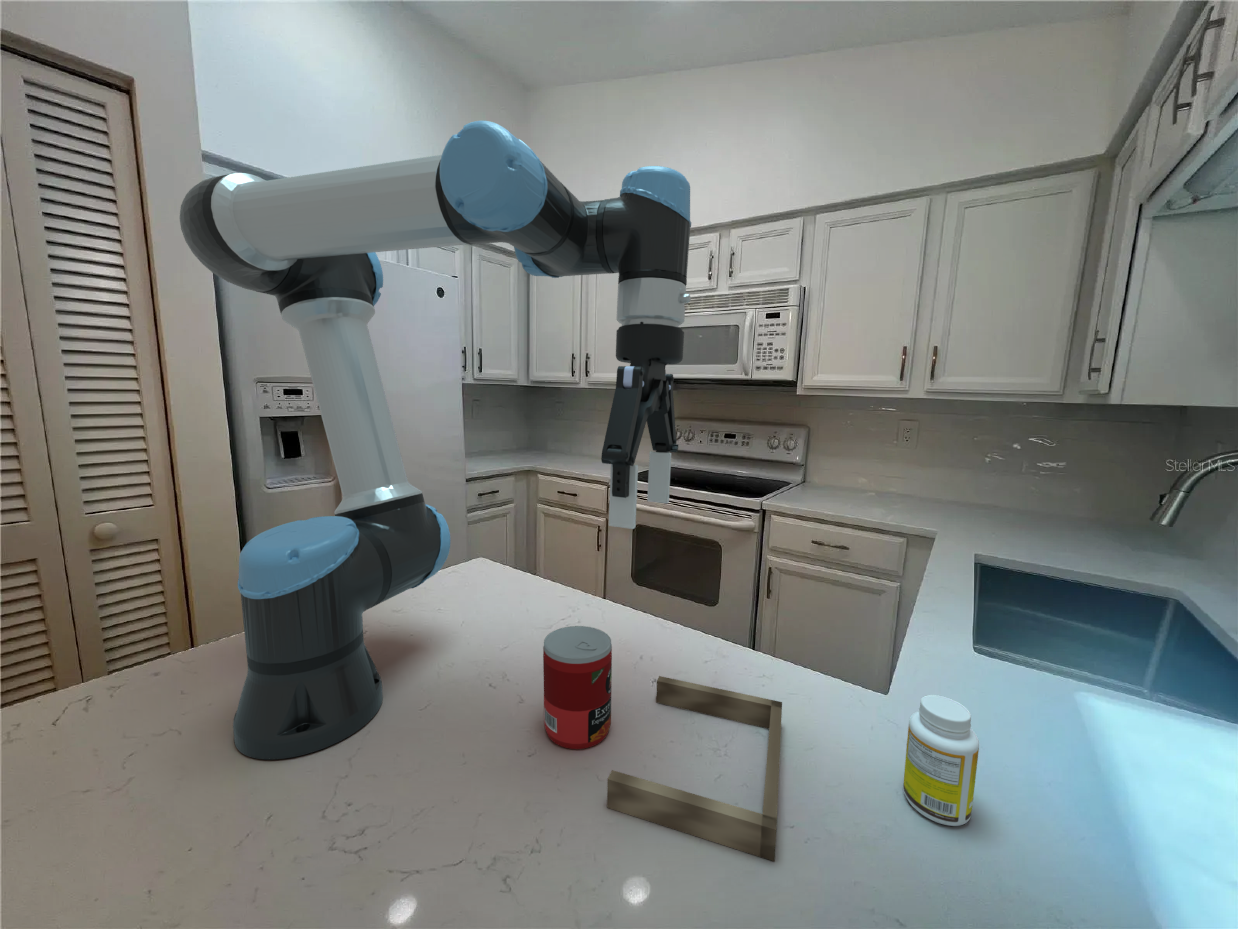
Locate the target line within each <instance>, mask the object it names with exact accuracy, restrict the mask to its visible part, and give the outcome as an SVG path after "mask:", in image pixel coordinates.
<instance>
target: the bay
mask: <svg viewBox="0 0 1238 929" xmlns="http://www.w3.org/2000/svg"><path fill="white" fill-rule="evenodd" d="M655 694H656V697H655V703H657V704H659V705H660V704H662V705H665V706H670V707H674V708H677V709H682V710H687V711H691V712H695V713H699V714H705V715H707V716H708V715H709V716H712V717H716V718H720V719H725V720H729V721H734V722H738V723H742V724H747V725H751V726H756V727H760V728H763V729H768V738H767V739H768V742H767V754H766V755H767V756H766V765H765V780H764V790H763V791H764V792H763V804H762V813H760V812H757V811H754V810H750V809H747V808H743V807H739V806H736V805H733V804H729V803H726V802H724V801H719V800H716V799H713V798H709V797H706V796H702V795H699V794H697V793H691V792H689V791H685V790H682V789H677V788H674V787H671V786H667V785H664V784H661V783H659V782H655V781H651V780H648V779H646V778H645V779H644V778H641V777H637V776H635V775H630V774H628V773H624V772H620V771H616V770H615V769H614V770H613V769H611V771H610V773H609V775H608V777H607V779H606V781H607V783H606V786H607V787H606V789H607V790H606V791H607V793H606V795H607V796H606V799H607V800H606V803H607V804H606V808H608V809H610V810H613V811H617V812H619V813H623V814H625V815H629V816H632V817H635V818H638V819H641V820H645V821H647V822H650V823H654V824H657V825H660V826H663V827H667V828H670V829H672V830H676V831H679V832H682V833H684V834H687V835H691V836H695V837H696V838H699V839H700V838H701V839H703V840H706V841H708V842H713V843H716V844H718V845H722V846H724V847H725V846H726V847H728V848H731V849H735V850H738V851H740V852H743V853H747V854H749V855H752V856H756V857H760V858H762V859H765V860H768V861H771V862H774V863H775V859H776V846H777V845H776V843H777V825H778V824H777V823H778V806H779V805H778V803H779V781H780V759H781V758H780V757H781V738H782V736H781V735H782V718H783V717H782V716H783V714H782V713H783V711H782V710H783V701H780V700H779V701H778V700H775V699H771V698H770V699H769V698H765V697H760V696H756V695H750V694H745V693H741V692H736V691H732V690H728V689H723V688H718V687H712V686H709V685H703V684H699V683H694V682H690V681H685V680H680V679H675V678H672V677H667V676H663V675H659V676H658V678H657V679H656V693H655Z"/></svg>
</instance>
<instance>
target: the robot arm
mask: <svg viewBox="0 0 1238 929" xmlns="http://www.w3.org/2000/svg"><path fill="white" fill-rule="evenodd" d="M687 179H688V178H686V176H684V174H683V173H681V172H680V171H678V170H676V169H673V168H671V167H666V166H662V165H661V166H660V165H659V166H658V165H648V166H642V167H639V168H637V170H631V171H630V172H628V173H627V174H626V175H625V176H624V178H623V179H622V181H621V189H620V190H619V197H612V198H607V199H601V200H588V201H587V200H586V201H581V200H579V199H578V197H576V196H575V195H574V194H573V193H572V192H571V191H570V190H569V189H568V188H567V187H566V186H565V185H564V184H563V183H562V182H561V181H560V180H559V179H558V178H557V177H556V175H555V174H554V173H553V172H551V170H550V169H549V168H548V167H547V166H546V165H545V164H544V163H543V162H542V160H541V159H540V158H539V157H538V156H537V155H536V153H535V152H534V151H533V149H532V148H530V146H529V145H528V144H526V143H525V142H524V141H523V140H521V139H520V138H517V137H516V136H515V135H514V134H513V133H511V132H510V131H509V130H508V129H507V128H505V127H504V126H502V125H500V124H499V123H496V122H494V121H489V120H475V121H471V122H469V123H466V124H465V125H463V128H462V129H461V130H460V131H459V132H457V133H456V134H452V135H451V136H450V137H449V140H448V141H447V142H446V144H445V146H444V149H443V151H442V154H437V155H431V156H426V157H418V158H410V159H405V160H398V161H391V162H383V163H378V164H369V165H362V166H358V167H357V166H356V167H350V168H343V169H336V170H330V171H329V170H328V171H324V172H317V173H310V174H304V175H297V176H296V175H295V176H291V177H289V176H288V177H282V178H276V179H270V180H266V179H264V178H262V177H261V176H257V175H254V174H252V173H245V172H236V173H229V174H221V175H218V176H212V177H210V178H207V179H204V180H202V181H200V182H199V183H197V184H196V185H194V186H193V187H192V188H190V189H189V190H188V191H187V193H186V194H185V196H184V198H183V200H182V202H181V204H180V209H179V224H180V229H181V230H180V231H181V233H182V235H183V238H184V242H185V243H186V245H187V247H188V248H189V249H190V251H191V253H192V254H193V255H194V256H195V257H196V259H197V260H198V261H199V262H200V263H201V265H203V266H204V267H205V268H206V269H207V270H209V271H210V272H211V273H212V274H214V275H216V276H217V277H219V278H221V279H222V280H224V281H226V282H227V283H230V284H232V285H234V286H236V287H240V288H242V289H245V290H250V291H253V292H257V293H261V294H264V295H265V294H266V295H270V296H273V297H275V299H276V301H277V306H278V308H279V312H280V315H281V319H282V321H283V322H285V323H286V324H288V325H289V326H291V327H293V328H294V329H296V330H297V331H298V333H299V336H300V337H299V338H300V341H301V345H302V348H303V352H304V356H305V359H306V360H305V361H306V363H307V366H308V371H309V375H310V378H311V382H312V386H313V388H314V393H315V398H316V400H317V403H318V408H319V411H320V417H321V420H322V422H323V427H324V431H325V434H326V438H327V442H328V445H329V450H330V453H331V458H332V459H333V460H332V461H333V464H334V469H335V471H336V472H335V473H336V475H337V478H338V479H337V480H338V484H339V486H340V491H341V494H342V500H341V502H340V503H339V504H338V506H337V507H336V508H335V510H334V516H333V515H332V516H331V515H327V516H314V517H310V518H308V519H305V520H302V519H299V520H294V521H291V522H287V523H283V524H280V525H278V526H274V527H272V528H270V529H269V528H268V529H266V530H265V531H262V532H260V533H258V534H257V535H255V536H254V537H253V538H251V539H249V540H248V541H247V542H246V543H245V545H244V547H243V548H242V550H241V552H240V553H239V556H238V578H237V579H238V580H237V589H238V591H239V594H240V602H241V611H242V620H243V631H244V640H245V641H244V642H245V650H246V652H245V653H246V660H247V673H246V674H247V675H246V677H245V681H244V684H243V687H242V691H241V693H240V697H239V702H238V704H237V705H238V706H237V710H236V711H235V713H234V716H233V723H232V728H233V739H234V745H235V747H236V749H237V750H238V751H239V752H240V753H241V754H242V755H244V756H246V757H249V758H253V759H257V760H281V759H291V758H296V757H300V756H304V755H308V754H311V753H315V752H317V751H320V750H323V749H325V748H328V747H330V746H333V745H335V744H336V743H339V742H341V741H343V740H345V739H346V738H348V737H350V736H352V735H353V734H356V732H358V731H360V730H361V729H362V728H363V727H364V726H366V725H367V724H368V723H369V722H370V721H371V720H372V719H373V718H374V717H375V716H376V714H377V713H378V711H379V710H380V708H381V707H382V703H383V698H384V696H383V682H382V679H381V675H380V673H379V672H378V669H377V667H376V665H375V663H374V661H373V658H372V657H371V654H370V653H369V650H368V649H367V646H366V645H365V639H364V623H363V622H364V621H363V613H364V612H366V611H368V610H369V609H372V608H374V607H376V606H378V605H380V604H382V603H384V602H386V601H388V600H389V599H392V598H394V597H396V596H398V595H399V594H401V593H404V592H405V591H408V590H411V589H414V588H415V589H416V588H417V587H419V586H420V585H422V584H423V583H425V582H426V581H427V580H429V579H430V578H432V577H434V576H435V575H436V574H437V573H438V572H439V571H440V570H441V569H442V568H443V567H444V565H445V562H446V561H447V559H448V557H449V554H450V551H451V550H450V549H451V533H450V532H451V531H450V529H449V528H450V527H449V525H448V523H447V520H446V518H445V517H444V516H443V514H442V513H439V512H438V510H437V508H436V507H434V506H432V505H429V504H426V502H425V498H424V494H423V490H420V489H419V488H417V487H416V486H414V485H413V484H411V482H409V481H408V480H409V479H408V477H407V474H406V473H407V472H406V468H405V465H404V461H403V458H402V453H401V450H400V446H399V442H398V438H397V434H396V431H395V426H394V423H393V419H392V415H391V412H390V406H389V404H388V399H387V396H386V392H385V388H384V385H383V381H382V378H381V373H380V369H379V366H378V361H377V358H376V354H375V350H374V347H373V346H374V345H373V343H372V339H371V335H370V331H369V327H368V323H369V322H370V321H371V320H372V318H373V317H374V316H375V314H376V310H375V306H376V305H377V303H378V301H379V300H380V297H381V295H382V293H381V292H380V289H382V288H384V273H383V267H382V264H381V261H380V259H379V256H378V254H377V253H381V252H382V253H383V252H394V251H405V250H416V249H429V248H431V249H432V248H439V247H454V246H462V245H463V246H464V245H485V244H495V243H496V244H497V243H502V244H503V243H506V244H509V245H510V246H512V247H513V249H514V253H515V256H516V259H517V260H518V262H519V263H521V266H522V268H523V270H524V271H525V272H526V273H527V274H529V275H531V276H535V277H550V278H552V279H553V278H554V279H557V278H558V279H559V278H562V277H571V276H573V277H575V276H586V275H588V276H590V275H604V274H609V275H610V274H618V280H617V282H618V283H617V284H618V285H617V299H616V300H617V302H616V304H617V305H616V321H617V322H618V323H619V324H621V325H620V326H619V327H618V329H616V334H615V335H616V336H615V337H616V340H615V343H616V344H615V357H616V360H617V361H618V362H621V363H626V364H629V365H627V366H625V365H619V366H618V367H617V369H616V379H615V380H616V382H615V383H616V384H615V389H614V394H613V398H612V399H613V400H612V403H611V408H610V412H609V418H608V422H607V427H606V431H605V434H604V439H603V440H604V442H603V446H602V451H601V458H600V459H601V463H602V464H603V465H604V464H606V465H610V474H609V476H610V477H609V478H610V480H609V508H608V526H609V527H613V528H614V527H615V528H622V529H630V530H634V529H635V528H637V527H636V526H637V525H636V524H637V501H638V500H637V498H638V480H639V479H638V478H639V477H638V476H639V464H635V462H636V458H637V455H638V452H639V449H640V445H641V442H642V437H643V435H644V431H645V428H646V424H647V428H648V433H649V438H650V443H651V449H652V451H649V455H648V457H649V460H648V475H647V476H648V477H647V497H646V498H647V502H650V503H658V504H669V502H670V490H671V489H670V488H671V487H670V486H671V468H672V453H678V451H679V444H677V443H678V441H677V440H678V439H677V432H676V429H677V428H676V417H675V416H676V415H675V404H674V401H675V400H674V378H675V377H674V374H673V373H666V366H667V365H676V364H679V363H681V362H682V361H683V359H684V358H683V357H684V347H685V346H684V345H685V344H684V342H685V332H684V331H683V329H682V328H681V327H679V326H681V325H683V323H685V316H686V315H685V314H686V307H685V304H689V303H690V302H691V299H692V297H691V294H690V293H687V283H688V281H687V279H688V266H689V251H690V250H689V249H690V236H691V228H692V222H691V185H690V182H689V181H688V180H687Z"/></svg>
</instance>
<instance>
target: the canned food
mask: <svg viewBox="0 0 1238 929" xmlns="http://www.w3.org/2000/svg"><path fill="white" fill-rule="evenodd" d="M542 649H543V650H542V651H543V654H542V655H543V656H542V662H543V666H542V668H543V669H542V670H543V671H542V674H543V724H544V729H545V732H546V734H547V737H548V739H550V740H551V742H553V743H554V744H555V745H558V746H560V747H562V748H565V749H569V750H570V749H572V750H582V749H588V748H591V747H595V746H596V745H598V744H601V742H602V741H604V739H605V738H606V737H607V735H608V734H609V732H610V728H611V724H612V681H613V680H612V678H613V677H612V671H613V670H612V668H613V666H612V664H613V663H612V662H613V657H612V656H613V655H612V654H613V653H612V652H613V646H612V639H611V637H610V636H609V634H608V633H606V632H605V631H603V630H601V629H599V628H596V627H592V626H584V625H571V626H564V627H562V628H558V629H556V630H555V629H554V630H553V631H551V632H550V633H548V634H547V635H546V636H545V638H544V640H543V646H542Z"/></svg>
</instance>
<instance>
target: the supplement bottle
mask: <svg viewBox="0 0 1238 929" xmlns="http://www.w3.org/2000/svg"><path fill="white" fill-rule="evenodd" d="M971 722H972V714H971V712H970V711H969V709H968V708H967V707H966V706H964V705H963V704H962V703H960V702H958V701H956V700H954V699H951V698H949V697H946V696H942V695H938V694H928V695H925V696H922V697H921V699H920V704H919V708H918V711H917V710H916V711H915V712H913V713H912V714H911V716H910V717H909V720H908V727H907V740H906V752H905V762H904V772H903V785H902V786H903V787H902V788H903V793H904V796H905V798H906V800H907V801H908V802H909V804H910V805H911V806H912V807H913V808H914V810H916V811H917V812H918V813H919V814H921V815H922V816H923V817H925V818H927V819H929V820H931V821H933V822H935V823H938V824H942V825H945V826H952V827H959V826H962V825H964V824H967V823H968V822H969V820H970V819H971V817H972V814H973V813H972V811H973V803H974V795H975V784H976V779H977V778H976V777H977V771H978V770H977V769H978V759H979V752H980V751H979V750H980V739H979V738H978V735H977V733H976V732H975V731H974V730H973V729H972V723H971Z"/></svg>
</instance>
